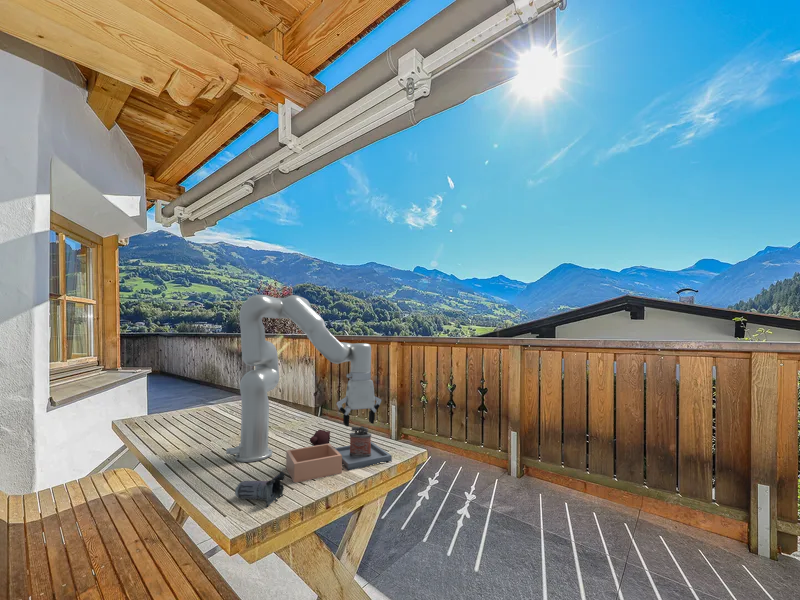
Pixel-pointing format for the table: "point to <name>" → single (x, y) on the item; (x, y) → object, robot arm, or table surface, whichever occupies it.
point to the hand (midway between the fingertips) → (359, 424)
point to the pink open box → (313, 462)
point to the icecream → (320, 438)
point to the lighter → (360, 442)
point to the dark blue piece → (261, 489)
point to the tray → (359, 462)
